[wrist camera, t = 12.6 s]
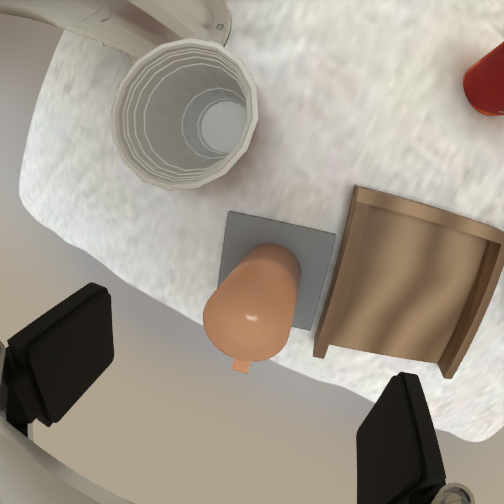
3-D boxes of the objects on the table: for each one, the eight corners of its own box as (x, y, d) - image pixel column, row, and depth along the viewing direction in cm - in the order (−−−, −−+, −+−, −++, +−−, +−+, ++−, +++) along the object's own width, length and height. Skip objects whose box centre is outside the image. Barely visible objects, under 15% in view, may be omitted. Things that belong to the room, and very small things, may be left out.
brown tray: (314, 338, 34) (312, 356, 30) (354, 184, 28) (359, 187, 25) (443, 361, 31) (451, 379, 27) (496, 228, 25) (512, 236, 22)
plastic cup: (246, 199, 31) (201, 222, 20) (163, 148, 31) (90, 148, 20) (303, 108, 27) (290, 75, 16) (212, 62, 27) (156, 20, 16)
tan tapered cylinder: (245, 236, 31) (207, 274, 21) (307, 251, 30) (299, 297, 20) (232, 315, 34) (197, 374, 24) (288, 329, 33) (271, 395, 23)
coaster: (216, 304, 35) (214, 306, 35) (229, 211, 32) (228, 211, 31) (310, 328, 33) (310, 330, 33) (335, 234, 30) (335, 235, 29)
